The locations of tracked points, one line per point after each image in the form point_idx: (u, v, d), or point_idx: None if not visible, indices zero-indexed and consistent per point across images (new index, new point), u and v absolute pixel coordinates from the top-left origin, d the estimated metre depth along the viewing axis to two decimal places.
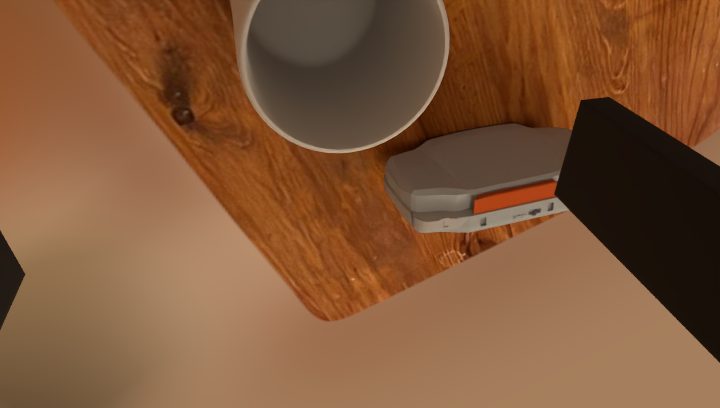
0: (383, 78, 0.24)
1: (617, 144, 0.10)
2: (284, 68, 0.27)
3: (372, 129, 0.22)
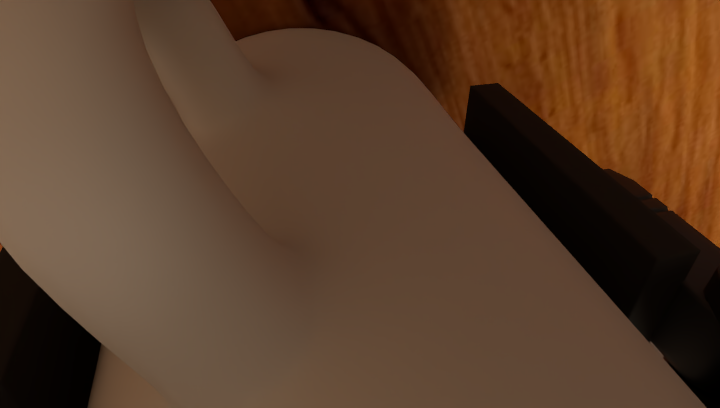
0: None
1: (494, 126, 0.11)
2: None
3: None
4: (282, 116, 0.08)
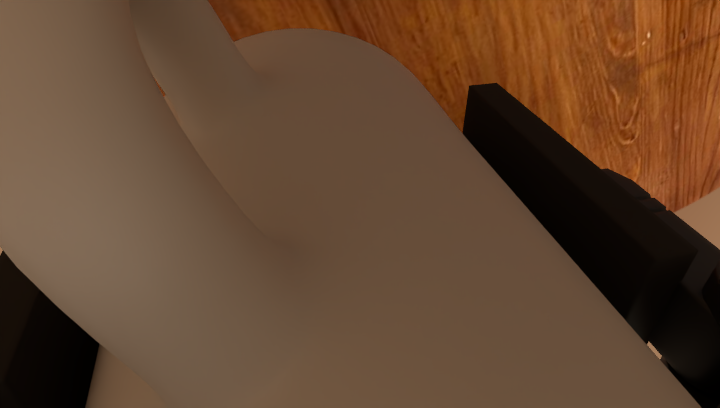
0: None
1: (493, 126, 0.11)
2: None
3: None
4: (280, 116, 0.08)
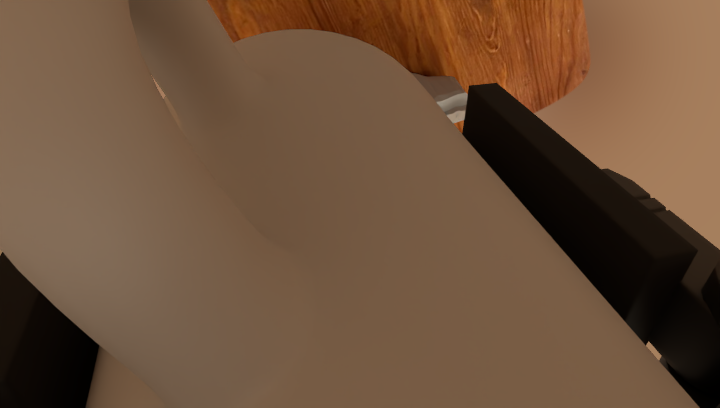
0: None
1: (493, 126, 0.11)
2: None
3: None
4: (280, 117, 0.08)
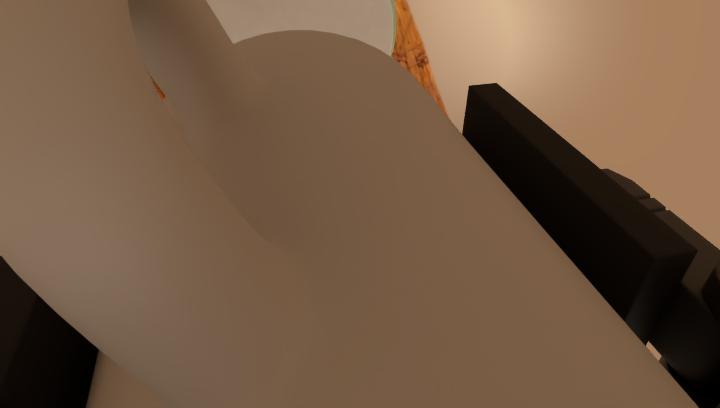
0: None
1: (493, 125, 0.11)
2: None
3: None
4: (280, 118, 0.08)
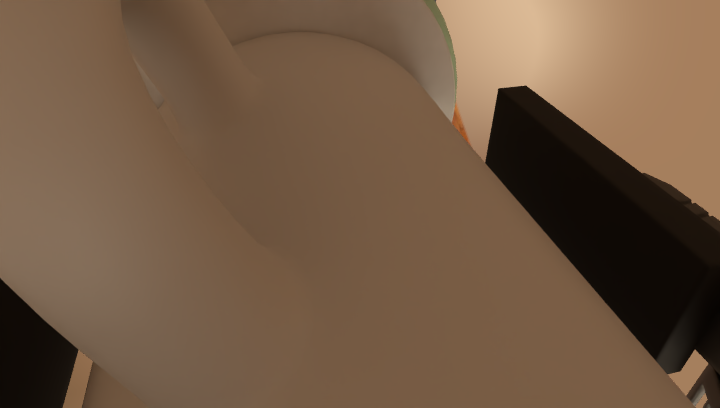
0: None
1: (526, 129, 0.11)
2: None
3: None
4: (278, 121, 0.08)
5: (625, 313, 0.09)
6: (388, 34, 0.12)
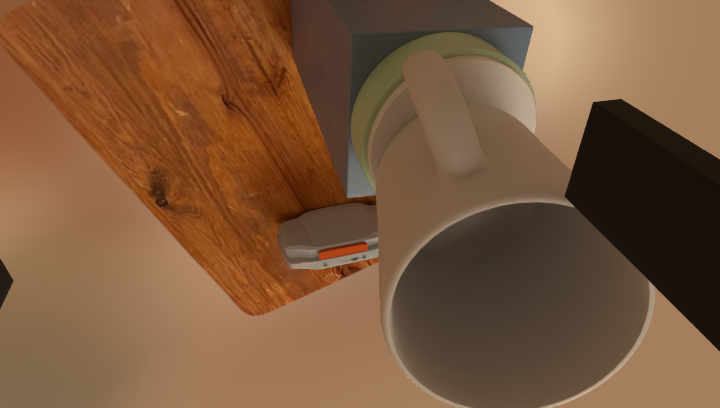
0: (544, 306, 0.20)
1: (630, 146, 0.10)
2: (423, 261, 0.24)
3: (529, 383, 0.17)
4: None
5: None
6: (508, 100, 0.24)
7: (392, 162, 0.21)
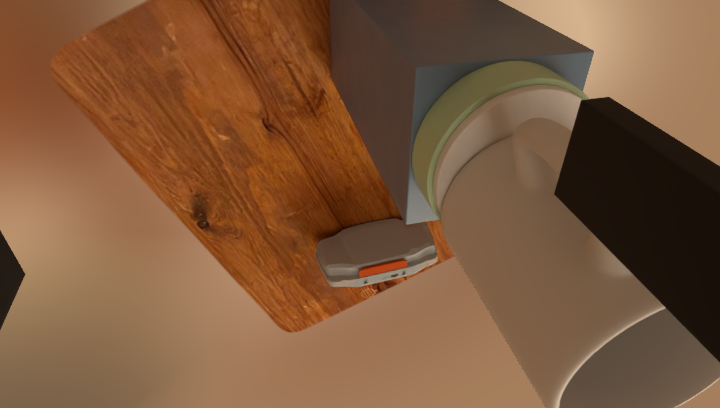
0: None
1: (617, 144, 0.10)
2: None
3: (633, 396, 0.21)
4: None
5: None
6: None
7: (484, 207, 0.22)
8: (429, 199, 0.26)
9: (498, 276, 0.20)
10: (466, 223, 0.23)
